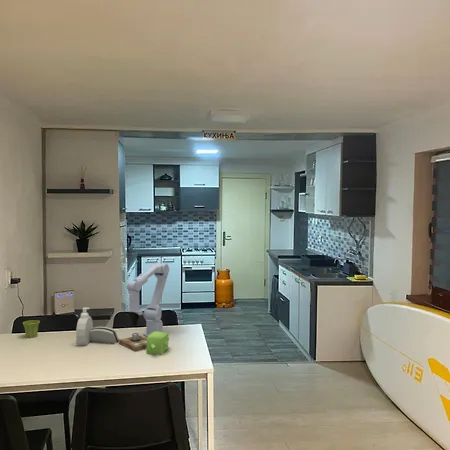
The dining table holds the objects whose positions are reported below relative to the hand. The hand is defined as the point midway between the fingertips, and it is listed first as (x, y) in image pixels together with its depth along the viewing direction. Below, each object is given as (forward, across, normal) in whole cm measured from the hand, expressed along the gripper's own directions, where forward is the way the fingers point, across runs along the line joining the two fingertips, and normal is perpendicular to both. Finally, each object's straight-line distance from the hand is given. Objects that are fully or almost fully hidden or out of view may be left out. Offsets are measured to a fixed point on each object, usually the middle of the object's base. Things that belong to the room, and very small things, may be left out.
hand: (134, 325), depth 251 cm
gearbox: (+10, +24, 0) cm, 26 cm away
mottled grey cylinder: (+10, +4, -2) cm, 11 cm away
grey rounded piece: (+10, -12, -13) cm, 21 cm away
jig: (+10, +6, -2) cm, 12 cm away
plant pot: (+10, -51, -41) cm, 66 cm away
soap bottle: (+10, -18, -22) cm, 30 cm away
